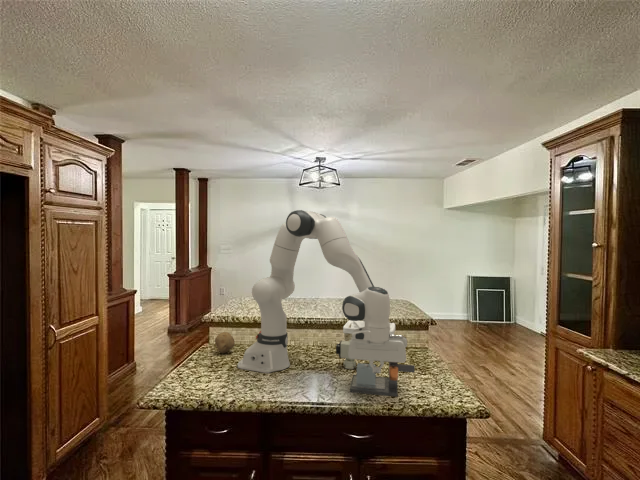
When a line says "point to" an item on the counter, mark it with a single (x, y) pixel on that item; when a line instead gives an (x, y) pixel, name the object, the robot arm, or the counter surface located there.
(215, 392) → the counter surface
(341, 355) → the pneumatic valve
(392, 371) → the lever
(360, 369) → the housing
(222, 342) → the natural sponge
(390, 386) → the press
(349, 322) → the storage basket
